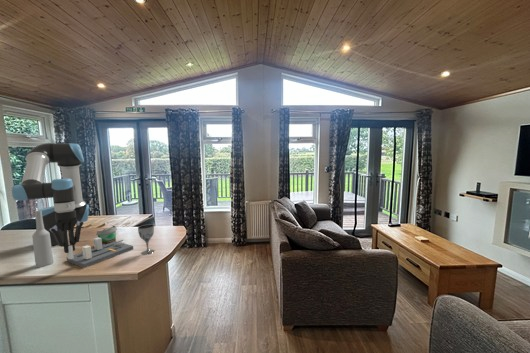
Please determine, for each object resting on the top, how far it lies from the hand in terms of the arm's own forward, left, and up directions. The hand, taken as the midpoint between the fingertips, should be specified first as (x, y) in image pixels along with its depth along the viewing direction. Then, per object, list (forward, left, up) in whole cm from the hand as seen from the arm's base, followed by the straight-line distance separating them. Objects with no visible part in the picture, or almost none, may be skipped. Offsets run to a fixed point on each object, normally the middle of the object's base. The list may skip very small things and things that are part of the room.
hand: (70, 258), depth 113 cm
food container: (-17, +27, -6) cm, 33 cm away
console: (-4, +16, -5) cm, 17 cm away
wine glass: (+17, +29, -6) cm, 34 cm away
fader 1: (0, +7, -3) cm, 8 cm away
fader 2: (-8, +16, -3) cm, 18 cm away
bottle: (-19, -4, -6) cm, 20 cm away
